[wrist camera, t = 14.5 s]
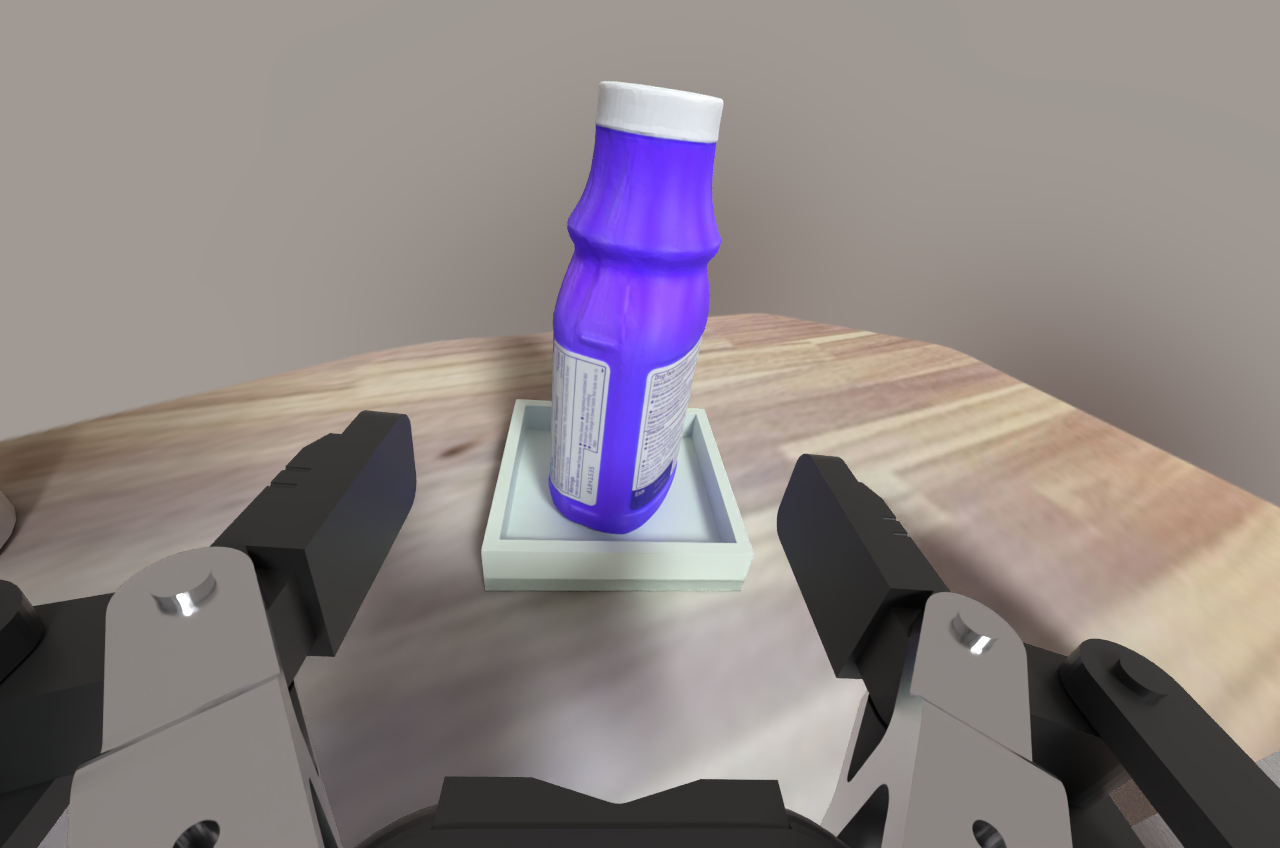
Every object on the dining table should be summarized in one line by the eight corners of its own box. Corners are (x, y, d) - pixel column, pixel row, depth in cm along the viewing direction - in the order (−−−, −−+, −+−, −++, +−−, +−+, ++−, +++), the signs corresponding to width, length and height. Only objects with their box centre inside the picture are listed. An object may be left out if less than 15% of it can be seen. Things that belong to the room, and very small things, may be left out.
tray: (485, 590, 21) (481, 551, 19) (517, 433, 30) (516, 398, 28) (740, 591, 22) (754, 554, 21) (696, 441, 31) (704, 408, 30)
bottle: (595, 438, 29) (623, 82, 19) (686, 469, 28) (767, 102, 18) (527, 518, 23) (518, 67, 13) (637, 562, 22) (717, 95, 12)
